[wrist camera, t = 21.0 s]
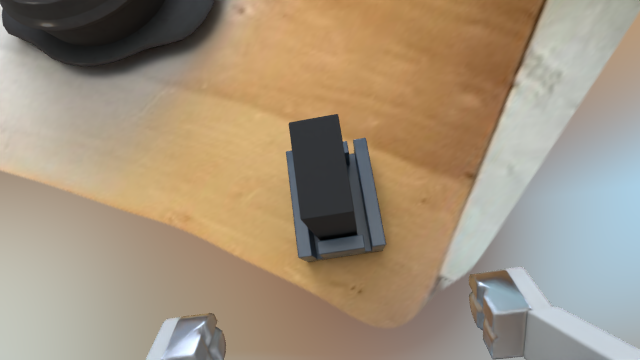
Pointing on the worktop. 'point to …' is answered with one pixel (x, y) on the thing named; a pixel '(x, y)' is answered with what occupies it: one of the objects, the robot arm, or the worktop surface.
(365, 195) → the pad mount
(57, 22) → the casserole
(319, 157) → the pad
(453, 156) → the worktop surface
